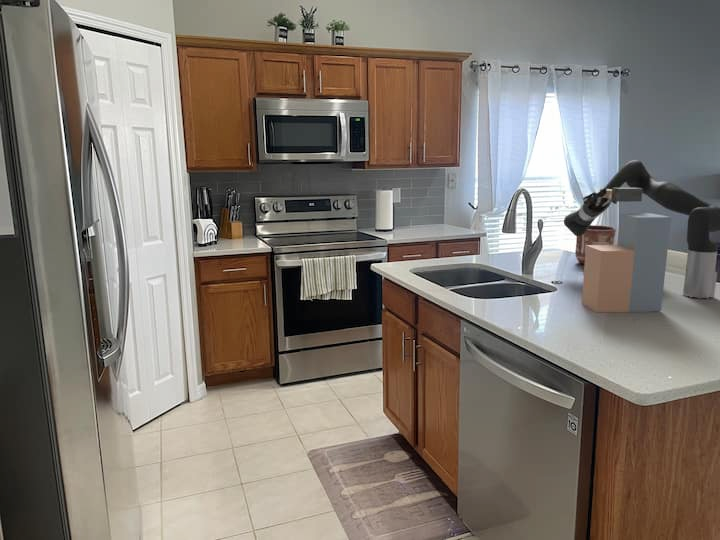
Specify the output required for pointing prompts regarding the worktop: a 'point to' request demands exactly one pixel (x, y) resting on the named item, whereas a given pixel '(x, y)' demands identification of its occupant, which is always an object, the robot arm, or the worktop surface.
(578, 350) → the worktop surface
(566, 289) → the worktop surface
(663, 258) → the step stand
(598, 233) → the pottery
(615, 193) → the mallet
